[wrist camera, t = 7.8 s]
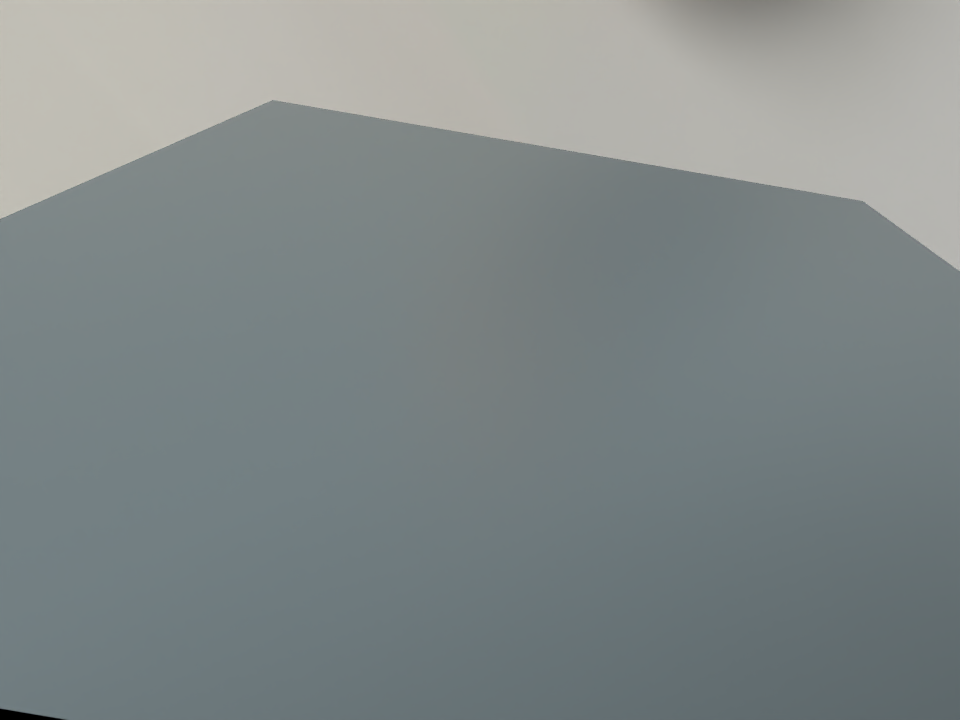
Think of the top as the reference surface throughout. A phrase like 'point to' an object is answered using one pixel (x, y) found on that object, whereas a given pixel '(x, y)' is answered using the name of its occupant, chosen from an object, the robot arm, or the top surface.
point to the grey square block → (470, 439)
